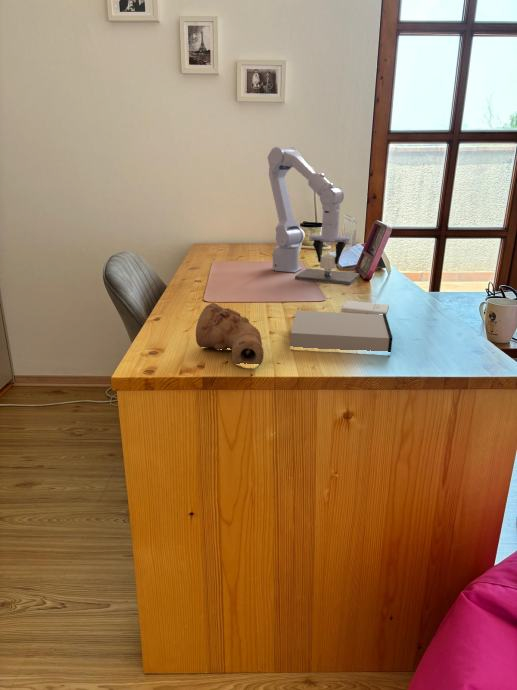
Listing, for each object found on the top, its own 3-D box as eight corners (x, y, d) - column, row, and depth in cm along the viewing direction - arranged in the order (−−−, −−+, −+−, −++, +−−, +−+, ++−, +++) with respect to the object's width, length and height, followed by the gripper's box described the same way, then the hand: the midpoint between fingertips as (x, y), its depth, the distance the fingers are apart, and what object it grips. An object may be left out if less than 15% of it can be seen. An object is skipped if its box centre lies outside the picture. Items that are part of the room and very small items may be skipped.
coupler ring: (318, 268, 180) (318, 256, 179) (322, 265, 185) (323, 254, 183) (333, 269, 178) (334, 258, 176) (337, 266, 183) (338, 255, 181)
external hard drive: (346, 305, 152) (388, 309, 148) (341, 313, 144) (386, 317, 141) (346, 300, 151) (389, 303, 147) (341, 307, 144) (386, 311, 140)
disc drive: (390, 358, 112) (393, 337, 111) (289, 352, 115) (290, 331, 114) (384, 332, 129) (386, 313, 127) (295, 327, 132) (296, 309, 130)
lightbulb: (304, 252, 229) (305, 227, 225) (304, 254, 223) (305, 229, 219) (290, 252, 229) (291, 227, 225) (290, 254, 224) (291, 229, 220)
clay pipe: (252, 354, 123) (192, 336, 121) (266, 314, 120) (205, 295, 118) (254, 385, 105) (184, 365, 103) (270, 339, 102) (199, 317, 100)
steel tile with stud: (295, 279, 180) (295, 264, 178) (307, 271, 192) (307, 257, 191) (350, 284, 173) (351, 269, 171) (359, 276, 185) (360, 261, 183)
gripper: (307, 224, 175) (305, 263, 180) (348, 226, 170) (345, 266, 175) (313, 221, 181) (311, 259, 186) (353, 224, 176) (350, 262, 181)
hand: (328, 262), depth 181 cm, fingers closed on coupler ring, 6 cm apart
